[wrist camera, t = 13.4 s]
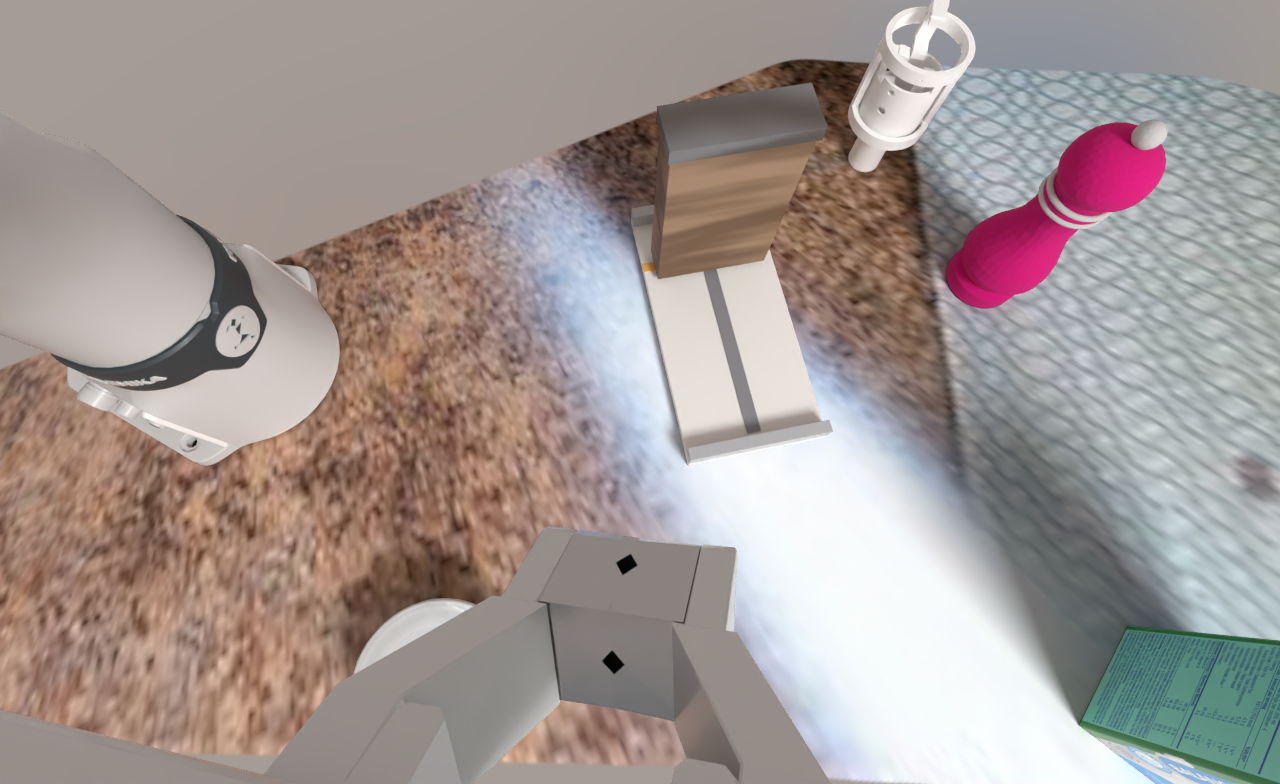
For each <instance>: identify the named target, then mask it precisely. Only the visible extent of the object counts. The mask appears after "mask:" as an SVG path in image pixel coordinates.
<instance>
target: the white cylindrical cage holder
mask: <svg viewBox="0 0 1280 784" xmlns="http://www.w3.org/2000/svg"><path fill="white" fill-rule="evenodd" d="M949 1H950V0H932V1H931V3H930V5H929V7H913V8H909V9H906V10H904V11H902V12H900V13H898V14H897V15H896V16H894V18H892V20H891V21H890V22H889V24H888V26H887V28H886V30H885V32H884V35H883V37H882V39H881V41H880V43H879V45H878V48H877V49H876V51H875V54H874V56H873V58H872V60H871V62H870V64H869V66H868V68H867V70H866V73H865V75H864V77H863V79H862V81H861V83H860V85H859V87H858V89H857V92H856V94H855V96H854V98H853V100H852V102H851V104H850V106H849V110H848V120H849V124H850V126H851V128H852V130H853V131H854V133H855V134H856V135H857V136H858V138H857V140H856V141H855V143H854V145H853V147H852V149H851V151H850V153H849V155H848V161H849V163H850V165H851V166H852V167H853V168H854V169H856V170H858V171H861V172H869V171H872V170H874V169H875V168H876V167H877V165H878V163H879V162H880V160H881V158H882V157H883V155H884V153H885V152H886V150H889V151H894V150H901V149H905V148H908V147H910V146H911V145H913V144H914V143H916V142H917V141H918V140H919V138H920V137H921V136H922V134H923V133H924V131H925V130H926V128H927V126H928V124H929V122H930V121H931V119H932V118H933V116H934V115H935V113H936V112H937V110H938V109H939V107H940V106H941V104H942V103H943V101H944V100H945V98H946V97H947V95H948V94H949V92H950V91H951V89H952V88H953V86H954V85H955V83H956V82H957V80H958V79H959V78H960V77H961V75H962V74H963V73H964V71H965V70H966V68H967V67H968V65H969V64H970V62H971V60H972V59H973V57H974V54H975V41H974V38H973V35H972V33H971V31H970V30H969V28H968V27H967V26H966V25H965V24H964V23H963V22H962V21H961V20H960V19H959V18H957V17H956V16H954V15H952V14H951V13H949V12H947V9H948V7H949ZM914 23H920V24H919V26H918V28H917V30H916V31H915V33H914V39H913V44H912V48H909V47H907V46H906V45H895V44H894V43H893V42H892V33H893V32H894V31H895V30H896V29H898V28H899V27H902V26H904V25H907V24H914ZM936 28H940V29H942V30H943V31H945V32H947V33H948V34H949V35H950V36H951V37H952V38H953V39H954V40H955V41H956V42H957V44H960V45H961V49H960V51H961V55H962V56H961V57H960V59H959V60H958V62H957V64H956V65H955V67H954V68H952V69H950V70H945V71H944V70H943V68H942V66H941V64H940V63H939V62H938V61H937V59H936V58H934V57H933V56H932V55H930V54H929V53H927V50H928V44H929V40H930V39H931V37H932V35H933V33H934V31H935V30H936ZM881 59H882V60H881ZM880 61H881V62H880ZM879 63H880V64H879ZM878 65H879V66H878ZM877 67H878V68H877ZM887 67H888V68H889V70H890V71H888V72H886V69H887ZM876 69H877V70H876ZM875 71H876V72H875ZM874 73H875V74H874ZM873 75H874V76H873ZM872 77H873V78H872ZM871 79H872V80H871ZM915 130H916V132H915V133H913V132H914V131H915Z"/></svg>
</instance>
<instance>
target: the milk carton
mask: <svg viewBox="0 0 1280 784" xmlns="http://www.w3.org/2000/svg"><path fill="white" fill-rule="evenodd" d="M1080 726H1081V727H1082V728H1083V729H1085V730H1086V731H1087V732H1089V733H1090V734H1091V735H1093V736H1094V737H1095V738H1097V739H1098V740H1099V741H1100V742H1102V743H1103V744H1104V745H1106V746H1107V747H1108V748H1110V749H1111V750H1112V751H1114V752H1115V753H1116V754H1118V755H1119V756H1120V757H1122V758H1123V759H1124V760H1125V761H1127V762H1128V763H1129V764H1131V765H1132V766H1133V767H1135V768H1136V769H1137V770H1139V771H1140V772H1141V773H1143V774H1144V775H1145V776H1147V777H1148V778H1149V779H1150V780H1152V781H1153V782H1154V783H1156V784H1280V641H1279V640H1268V639H1258V638H1248V637H1238V636H1228V635H1218V634H1208V633H1197V632H1187V631H1177V630H1167V629H1157V628H1147V627H1136V626H1128V627H1127V629H1126V631H1125V633H1124V635H1123V637H1122V639H1121V641H1120V643H1119V645H1118V647H1117V649H1116V652H1115V654H1114V656H1113V658H1112V660H1111V662H1110V664H1109V666H1108V668H1107V670H1106V672H1105V674H1104V676H1103V678H1102V680H1101V682H1100V684H1099V686H1098V688H1097V690H1096V692H1095V694H1094V696H1093V698H1092V700H1091V702H1090V704H1089V706H1088V708H1087V710H1086V712H1085V714H1084V716H1083V718H1082V720H1081V723H1080Z"/></svg>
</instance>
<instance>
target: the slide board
mask: <svg viewBox="0 0 1280 784" xmlns="http://www.w3.org/2000/svg"><path fill="white" fill-rule="evenodd" d="M653 215H654V205H648V206H642V207H636V208H631V225H632V230H633V234H634V238H635V242H636V247H637V251H638V255H639V259H640V264H641V268H642V272H643V277H644V281H645V285H646V289H647V294H648V298H649V302H650V306H651V311H652V315H653V319H654V323H655V328H656V332H657V336H658V340H659V345H660V349H661V353H662V358H663V362H664V366H665V370H666V375H667V379H668V383H669V387H670V392H671V396H672V400H673V404H674V409H675V413H676V417H677V421H678V426H679V430H680V434H681V439H682V443H683V447H684V451H685V456H686V460H687V464H688V466H690V465H694V464H699V463H704V462H709V461H714V460H719V459H724V458H729V457H733V456H738V455H743V454H748V453H753V452H758V451H763V450H768V449H773V448H777V447H782V446H787V445H792V444H797V443H802V442H807V441H812V440H816V439H821V438H824V437H825V436H827V435H828V434H830V433H831V432H833V430H832V427H831V424H830V421H829V420H826V421H822V418H821V415H820V412H819V408H818V405H817V402H816V399H815V395H814V392H813V389H812V386H811V382H810V379H809V376H808V373H807V370H806V366H805V363H804V360H803V357H802V353H801V350H800V347H799V344H798V340H797V337H796V334H795V331H794V327H793V324H792V321H791V318H790V315H789V311H788V308H787V305H786V302H785V298H784V295H783V292H782V289H781V285H780V282H779V279H778V276H777V272H776V269H775V266H774V263H773V260H772V256H771V253H770V248H769V250H768V252H767V255H766V257H765V259H764V261H759V262H753V263H748V264H742V265H737V266H731V267H725V268H720V269H714V270H708V271H703V272H697V273H691V274H686V275H680V276H675V277H669V278H663V279H658V278H657V274H656V270H655V266H654V262H653V258H652V254H651V242H652V228H653Z"/></svg>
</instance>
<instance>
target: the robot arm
mask: <svg viewBox="0 0 1280 784" xmlns="http://www.w3.org/2000/svg"><path fill="white" fill-rule="evenodd" d="M0 335H2V336H5V337H8V338H11V339H13V340H16V341H19V342H22V343H24V344H27V345H30V346H32V347H35V348H38V349H40V350H43V351H46V352H48V353H50V354H51V355H52V356H53V357H54V358H55V359H56V360H58V361H59V362H61V363H63V364H64V365H66V366H67V367H68V369H67V382H68V385H69V386H70V387H71V388H72V389H74V390H75V391H77V392H78V393H77V397H76V398H77V399H79V400H80V401H82V402H84V403H86V404H89V405H91V406H93V407H96V408H98V409H101V410H104V411H110V412H111V413H113V414H115V415H116V416H118V417H120V418H121V419H123V420H125V421H126V422H128V423H130V424H131V425H133V426H135V427H136V428H138V429H140V430H141V431H143V432H145V433H146V434H148V435H150V436H151V437H153V438H155V439H156V440H158V441H160V442H161V443H163V444H165V445H166V446H168V447H170V448H171V449H173V450H175V451H176V452H178V453H180V454H181V455H183V456H185V457H186V458H188V459H190V460H191V461H193V462H196V463H198V464H200V465H204V466H207V465H212V464H214V463H217V462H219V461H220V460H222V459H224V458H225V457H227V456H228V455H230V454H231V453H233V452H234V451H235V450H237V449H238V448H240V447H242V446H244V445H247V444H250V443H254V442H257V441H261V440H265V439H268V438H271V437H274V436H276V435H279V434H281V433H283V432H285V431H287V430H289V429H290V428H292V427H294V426H295V425H297V424H298V423H300V422H301V421H302V420H303V419H305V418H306V417H307V416H308V415H309V414H310V413H311V412H312V411H313V410H314V409H315V408H316V407H317V406H318V405H319V403H320V402H321V401H322V400H323V398H324V397H325V395H326V394H327V392H328V390H329V388H330V387H331V385H332V382H333V380H334V377H335V375H336V371H337V368H338V363H339V352H340V351H339V340H338V335H337V331H336V329H335V326H334V324H333V322H332V320H331V318H330V317H329V315H328V314H327V312H326V311H325V310H324V308H323V307H322V306H321V304H320V302H319V300H318V295H317V287H316V282H315V279H314V277H313V275H312V274H311V273H310V272H309V271H307V270H306V269H304V268H303V267H299V266H291V265H281V264H275V263H274V262H272V261H271V260H270V259H268V258H267V257H266V256H264V255H263V254H262V253H260V252H259V251H257V250H256V249H255V248H253V247H252V246H250V245H247V244H242V245H240V246H239V245H235V244H227V243H223V242H222V241H221V240H220V239H219V238H217V237H216V236H215V235H213V234H212V233H211V232H209V231H208V230H206V229H204V228H202V227H200V226H199V225H197V224H196V223H194V222H193V221H191V220H189V219H186V218H184V217H182V216H179V215H175V214H174V213H173V212H172V211H170V210H169V209H168V208H167V207H165V206H164V205H163V204H161V202H159V201H158V200H157V199H156V198H154V197H153V196H152V195H151V194H149V193H148V192H147V191H145V190H144V189H143V188H142V187H141V186H139V185H138V184H137V183H136V182H134V181H133V180H132V179H131V178H129V177H128V176H127V175H126V174H124V173H123V172H122V171H121V170H119V169H118V168H117V167H116V166H114V165H113V164H112V163H111V162H109V161H108V160H107V159H105V158H104V157H103V156H102V155H101V154H99V153H98V152H97V151H95V150H94V149H92V148H90V147H88V146H86V145H84V144H82V143H80V142H77V141H74V140H72V139H68V138H65V137H61V136H56V135H50V134H42V133H40V132H38V131H36V130H34V129H32V128H30V127H28V126H27V125H25V124H23V123H21V122H19V121H17V120H15V119H14V118H12V117H10V116H9V115H7V114H5V113H4V112H2V111H1V110H0ZM196 440H197V444H196V446H194V447H193V443H194V441H196ZM736 572H737V550H736V549H735V548H733V547H722V546H711V545H703V546H702V545H693V544H684V543H675V542H666V541H658V540H649V539H639V538H634V537H627V536H620V535H613V534H606V533H599V532H592V531H585V530H575V529H568V528H561V527H553V526H549V527H547V528H545V529H544V530H543V531H542V532H541V533H540V535H539V537H538V538H537V540H536V541H535V543H534V545H533V546H532V548H531V550H530V551H529V553H528V554H527V556H526V558H525V559H524V561H523V562H522V564H521V566H520V567H519V569H518V571H517V572H516V574H515V575H514V577H513V579H512V580H511V582H510V584H509V585H508V587H507V588H506V590H505V592H504V593H503V595H502V597H499V596H491V597H489V598H487V599H485V600H484V601H482V602H480V603H478V604H477V605H475V606H473V607H471V608H470V609H468V610H466V611H464V612H463V613H461V614H459V615H457V616H456V617H454V618H452V619H450V620H449V621H447V622H445V623H443V624H442V625H440V626H438V627H436V628H434V629H433V630H431V631H429V632H427V633H426V634H424V635H422V636H420V637H419V638H417V639H415V640H413V641H412V642H410V643H408V644H406V645H405V646H403V647H401V648H399V649H398V650H396V651H394V652H392V653H391V654H389V655H387V656H385V657H384V658H382V659H380V660H378V661H377V662H375V663H373V664H371V665H370V666H368V667H366V668H364V669H362V670H361V671H359V672H357V673H355V674H354V675H352V676H350V677H348V678H347V679H345V680H343V681H341V682H340V683H338V684H337V685H336V686H335V687H334V689H333V690H332V691H331V692H330V693H329V695H328V696H327V697H326V698H325V700H324V701H323V702H322V703H321V704H320V706H319V707H318V708H317V709H316V711H315V712H314V713H313V714H312V716H311V717H310V718H309V719H308V720H307V722H306V723H305V724H304V725H303V727H302V728H301V729H300V730H299V732H298V733H297V734H296V735H295V736H294V738H293V739H292V740H291V741H290V743H289V744H288V745H287V746H286V748H285V749H284V750H283V751H282V752H281V754H280V755H279V756H278V757H277V759H276V760H275V761H274V762H273V764H272V765H271V766H270V767H269V769H268V770H267V771H266V772H265V773H264V775H262V774H258V773H254V772H250V771H246V770H242V769H238V768H234V767H230V766H225V765H222V764H218V763H214V762H210V761H206V760H202V759H198V758H194V757H189V756H186V755H182V754H178V753H174V752H170V751H166V750H162V749H158V748H154V747H150V746H146V745H142V744H138V743H134V742H130V741H126V740H122V739H118V738H114V737H110V736H105V735H101V734H97V733H93V732H89V731H85V730H81V729H77V728H73V727H69V726H65V725H61V724H57V723H53V722H49V721H45V720H41V719H37V718H33V717H29V716H25V715H21V714H17V713H13V712H9V711H5V710H1V709H0V784H475V783H476V782H477V781H478V780H479V779H480V778H481V777H482V776H483V775H484V774H485V773H486V772H487V771H488V770H490V769H491V768H492V766H494V765H495V764H496V763H497V762H498V761H499V760H500V759H501V758H502V757H503V756H505V755H506V754H507V753H508V752H509V751H510V750H511V749H512V748H513V747H514V746H515V745H516V744H517V743H518V742H520V741H521V740H522V739H523V738H524V737H525V736H526V735H527V734H528V733H529V732H530V731H531V730H532V729H533V728H534V727H536V726H537V725H538V724H539V723H540V722H541V721H542V720H543V719H544V718H545V717H546V716H547V715H548V714H549V713H551V712H552V711H553V710H554V709H555V708H556V707H557V706H558V705H559V704H560V700H564V701H570V702H577V703H583V704H590V705H596V706H602V707H609V708H615V709H620V710H625V711H629V712H634V713H638V714H643V715H648V716H652V717H657V718H661V719H666V720H671V721H675V727H676V730H677V732H678V735H679V738H680V741H681V744H682V746H683V749H684V752H685V755H686V758H687V759H685V760H684V761H683V762H681V763H680V764H678V765H677V766H676V767H675V768H674V773H673V778H672V783H671V784H831V783H830V781H829V780H828V778H827V776H826V775H825V773H824V772H823V770H822V768H821V767H820V765H819V764H818V762H817V760H816V759H815V757H814V756H813V754H812V752H811V751H810V749H809V748H808V746H807V744H806V743H805V741H804V740H803V738H802V736H801V735H800V733H799V732H798V730H797V728H796V727H795V725H794V724H793V722H792V720H791V719H790V717H789V716H788V714H787V712H786V711H785V709H784V708H783V706H782V704H781V703H780V701H779V700H778V698H777V696H776V695H775V693H774V692H773V690H772V688H771V687H770V685H769V684H768V682H767V680H766V679H765V677H764V676H763V674H762V672H761V671H760V669H759V668H758V666H757V664H756V663H755V661H754V660H753V658H752V656H751V655H750V653H749V652H748V650H747V648H746V647H745V645H744V644H743V642H742V640H741V639H740V637H739V636H738V634H737V632H734V619H735V598H736Z"/></svg>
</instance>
